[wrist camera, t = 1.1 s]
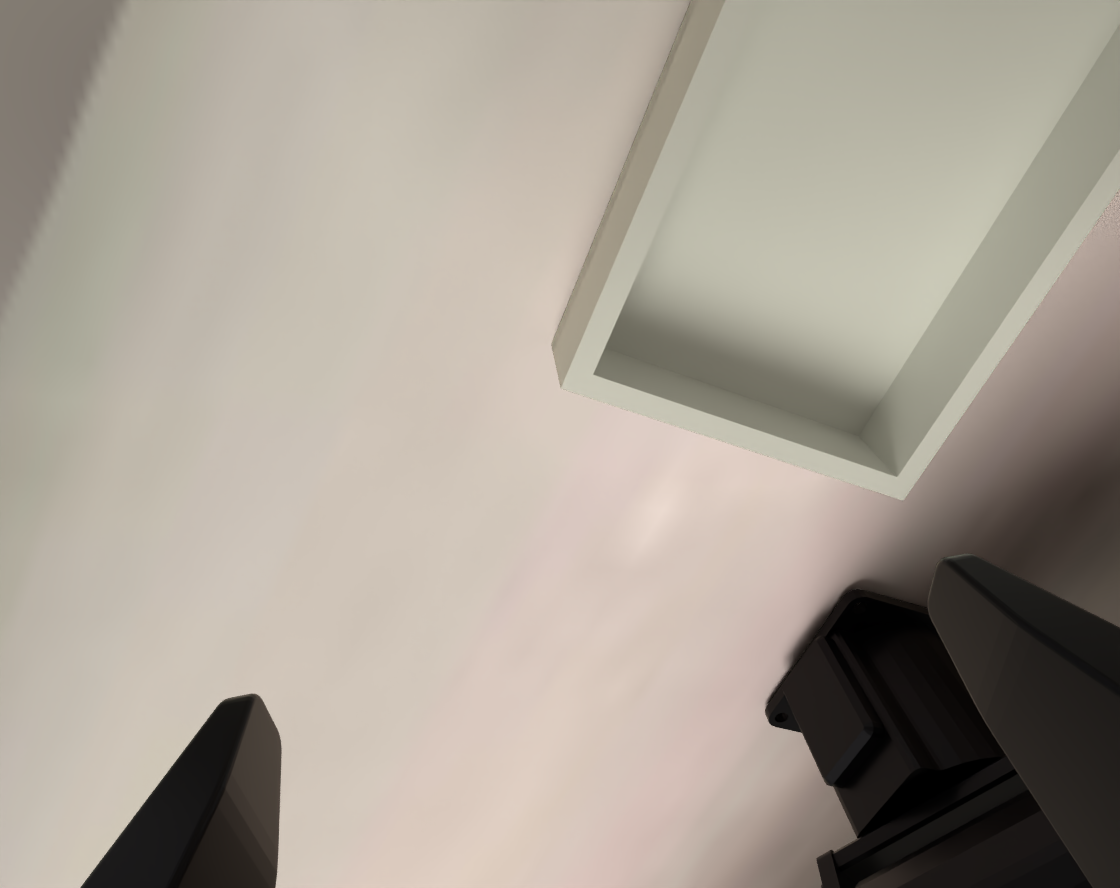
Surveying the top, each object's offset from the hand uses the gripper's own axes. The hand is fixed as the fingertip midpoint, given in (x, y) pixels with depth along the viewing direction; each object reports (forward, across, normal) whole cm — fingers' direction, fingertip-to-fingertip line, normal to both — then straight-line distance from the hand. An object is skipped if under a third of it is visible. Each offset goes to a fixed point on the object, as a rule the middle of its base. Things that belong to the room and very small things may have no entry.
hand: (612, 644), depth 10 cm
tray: (+12, -10, -4) cm, 16 cm away
